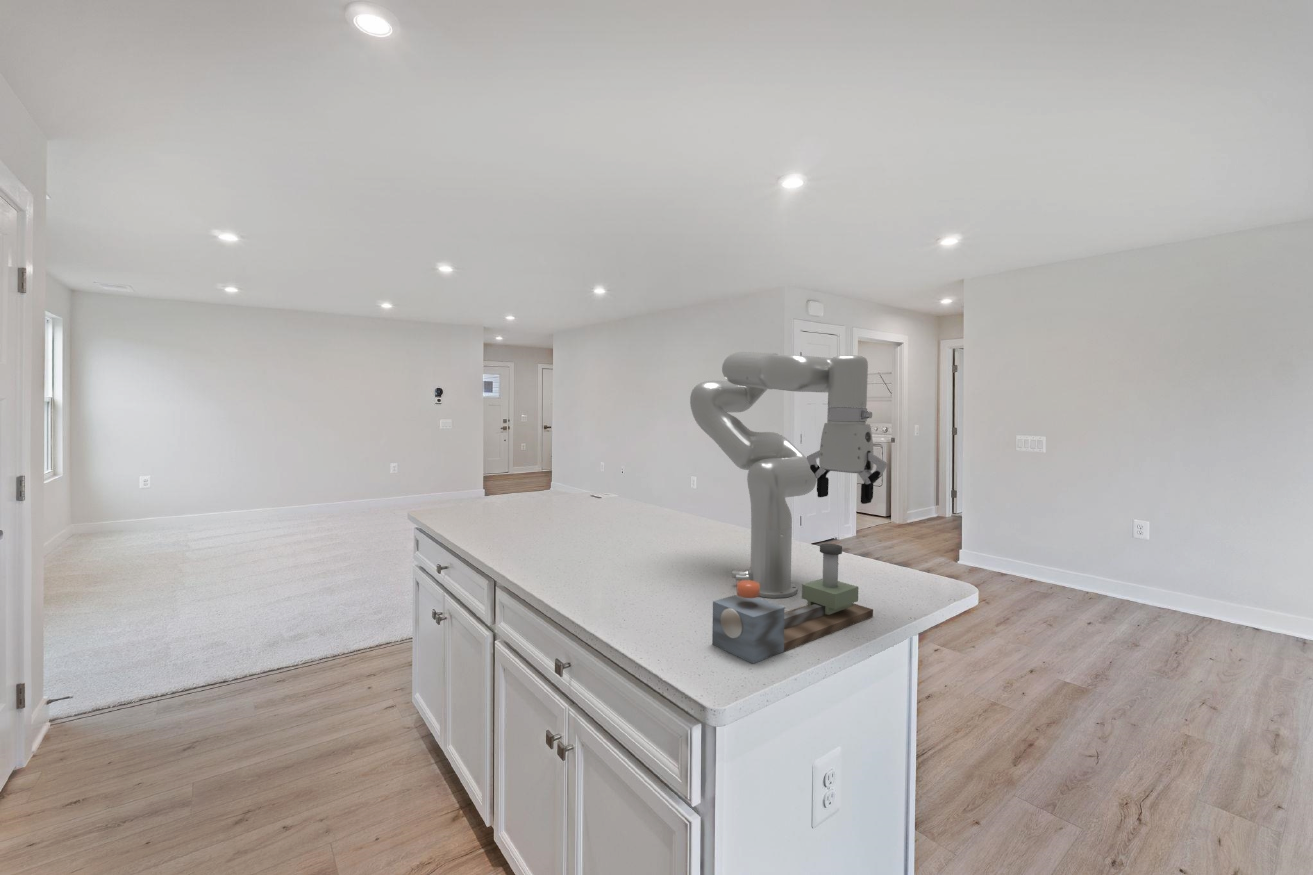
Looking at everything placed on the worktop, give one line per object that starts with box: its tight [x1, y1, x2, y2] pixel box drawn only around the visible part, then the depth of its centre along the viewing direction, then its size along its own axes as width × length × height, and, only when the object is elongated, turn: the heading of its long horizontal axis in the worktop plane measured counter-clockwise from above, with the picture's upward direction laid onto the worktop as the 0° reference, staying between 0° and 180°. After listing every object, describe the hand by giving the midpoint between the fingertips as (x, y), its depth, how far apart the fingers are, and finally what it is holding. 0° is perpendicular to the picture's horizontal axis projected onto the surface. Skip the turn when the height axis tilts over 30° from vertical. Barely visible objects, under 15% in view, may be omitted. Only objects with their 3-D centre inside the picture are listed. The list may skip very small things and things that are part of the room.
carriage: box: [801, 543, 859, 615], centre depth 117 cm, size 8×8×13 cm
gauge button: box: [736, 580, 760, 598], centre depth 102 cm, size 4×4×2 cm
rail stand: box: [711, 594, 874, 664], centre depth 111 cm, size 37×10×8 cm, turn 128°
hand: (843, 499), depth 117 cm, fingers open, 9 cm apart
